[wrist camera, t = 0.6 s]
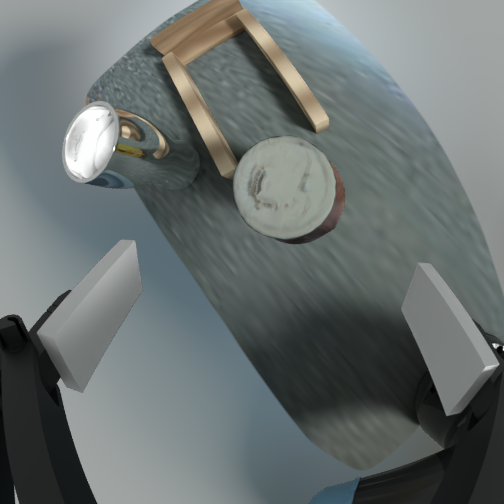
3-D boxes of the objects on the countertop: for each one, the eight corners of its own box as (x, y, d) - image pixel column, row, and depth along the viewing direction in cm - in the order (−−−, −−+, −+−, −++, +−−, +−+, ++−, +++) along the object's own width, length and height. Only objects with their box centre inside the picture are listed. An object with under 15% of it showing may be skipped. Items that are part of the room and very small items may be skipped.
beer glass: (145, 159, 34) (53, 138, 19) (188, 126, 32) (105, 81, 17) (167, 205, 34) (73, 203, 19) (214, 172, 32) (132, 146, 17)
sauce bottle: (263, 203, 31) (163, 187, 12) (302, 159, 29) (261, 72, 10) (309, 246, 30) (278, 298, 11) (349, 202, 29) (392, 177, 9)
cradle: (328, 127, 28) (328, 115, 24) (231, 179, 31) (218, 174, 28) (240, 7, 28) (231, -10, 24) (164, 52, 31) (149, 39, 28)
